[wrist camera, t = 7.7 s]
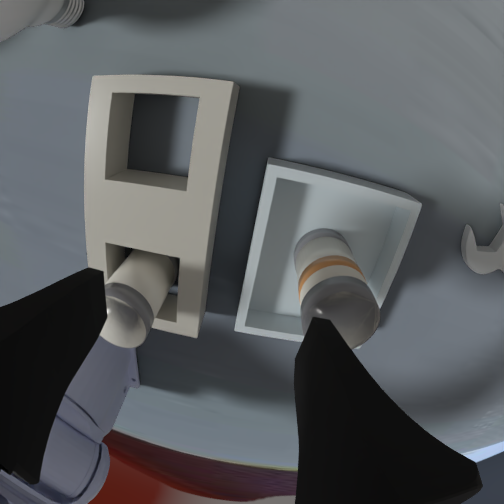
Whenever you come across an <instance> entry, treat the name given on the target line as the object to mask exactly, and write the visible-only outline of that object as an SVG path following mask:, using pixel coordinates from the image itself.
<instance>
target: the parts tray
mask: <svg viewBox="0 0 504 504" xmlns="http://www.w3.org/2000/svg"><path fill="white" fill-rule="evenodd" d="M421 207H422V203H420V202H419V201H417V200H416V199H415V198H413V197H412V196H410V195H409V194H407V193H406V192H403V191H400V190H397V189H393V188H390V187H387V186H383V185H380V184H377V183H373V182H370V181H366V180H363V179H359V178H355V177H352V176H348V175H344V174H340V173H336V172H332V171H328V170H324V169H320V168H316V167H312V166H307V165H303V164H299V163H294V162H290V161H285V160H280V159H275V158H270V157H268V161H267V166H266V171H265V176H264V181H263V186H262V191H261V196H260V201H259V206H258V211H257V216H256V221H255V226H254V231H253V236H252V241H251V246H250V251H249V256H248V261H247V266H246V271H245V276H244V281H243V286H242V291H241V296H240V301H239V306H238V312H237V318H236V323H235V329H234V331H237V332H243V333H248V334H254V335H260V336H266V337H272V338H278V339H285V340H291V341H298V342H302V341H303V339H304V335H303V331H302V324H301V315H300V308H301V306H300V302H299V294H298V282H297V274H296V271H295V265H294V256H293V255H294V249H295V246H296V244H297V242H298V241H299V239H300V238H301V237H302V236H304V235H305V234H306V233H308V232H310V231H312V230H315V229H320V228H327V229H332V230H334V231H337V232H338V233H340V234H341V235H342V236H343V237H344V238H345V240H346V241H347V243H348V245H349V247H350V249H351V251H352V254H353V257H354V258H355V260H356V262H357V264H358V266H359V268H360V269H361V271H362V273H363V275H364V277H365V279H366V282H367V285H368V286H369V288H370V289H371V291H372V293H373V295H374V297H375V299H376V302H377V304H378V306H379V309H380V308H381V306H382V304H383V301H384V299H385V297H386V295H387V293H388V291H389V288H390V286H391V284H392V282H393V279H394V277H395V275H396V272H397V270H398V268H399V265H400V263H401V260H402V258H403V255H404V253H405V250H406V248H407V245H408V243H409V240H410V238H411V235H412V232H413V229H414V227H415V224H416V221H417V218H418V215H419V213H420V210H421ZM360 347H361V345H360V346H358V347H356V348H355V349H360Z"/></svg>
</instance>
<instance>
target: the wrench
mask: <svg viewBox="0 0 504 504" xmlns="http://www.w3.org/2000/svg"><path fill="white" fill-rule="evenodd" d="M500 210H501V216H502V224H503V225H502V227H501V228H500V230H499V232H498V233H497V235H496V236H495V238H494V239H493V241H492V242H491V244H490V245H489V246H476V242H475V238H474V234H473V231H472V228H471V227H470V226H469V225H468V224H466V226H465V229H464V232H463V235H462V241H461V253H462V257H463V259H464V262H465V263H466V264H467V265H468V267H469V268H470V269H471V270H473V271H474V272H475V273H478V274H488V273H491V272H493V271H495V270H497V269H501V270H502V271H503V273H504V205H503V204H501V203H500Z"/></svg>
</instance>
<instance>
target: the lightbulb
mask: <svg viewBox="0 0 504 504" xmlns="http://www.w3.org/2000/svg"><path fill="white" fill-rule="evenodd" d="M83 10H84V0H0V42H2V41H4V40H6V39H8V38H10V37H12V36H14V35H15V34H17V33H19V32H20V31H22V30H23V29H25V28H27V27H35V26H40V25H43V24H45V25H51V26H55V27H58V28H67V27H69V26H71V25H73V24H74V23H75V22H76V21H77V20H78V19H79V17H80V16H81V14H82V12H83Z"/></svg>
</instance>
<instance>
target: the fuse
mask: <svg viewBox="0 0 504 504" xmlns="http://www.w3.org/2000/svg"><path fill="white" fill-rule="evenodd" d="M179 267H180V259H179V258H178V257H173V256H168V255H163V254H158V253H153V252H149V251H144V250H139V249H133V251H132V252H131V253H130V254H129V256H128V257H127V259H126V260H125V261H124V262H123V263H122V264H121V265H120V267H119V268H118V269H117V270H116V271H115V272H114V274H113V275H112V276H111V277H110V278H109V280H108V281H107V282H106V283H105V295H106V305H107V315H108V317H107V320H106V322H105V324H104V326H103V329H102V331H101V333H100V336H101V337H102V338H103V339H105V340H106V341H107V342H109V343H111V344H113V345H115V346H118V347H121V348H136V347H139V346H140V345H142V344H143V343H144V341H145V340H146V338H147V336H148V334H149V332H150V330H151V328H152V325H153V322H154V320H155V318H156V316H157V314H158V312H159V310H160V308H161V306H162V304H163V302H164V300H165V298H166V296H167V294H168V292H169V290H170V288H171V287H172V286H173V284H174V282H175V280H176V278H177V277H178V275H179Z"/></svg>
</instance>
